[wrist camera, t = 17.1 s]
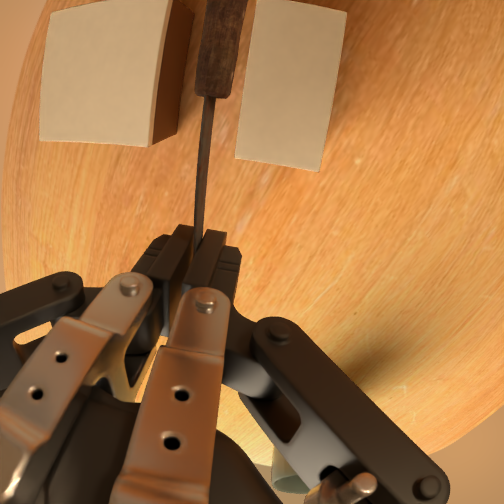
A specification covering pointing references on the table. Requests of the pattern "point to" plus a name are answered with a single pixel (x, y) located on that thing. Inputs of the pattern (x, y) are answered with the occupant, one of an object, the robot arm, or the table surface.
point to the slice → (290, 83)
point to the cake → (114, 72)
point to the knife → (214, 84)
